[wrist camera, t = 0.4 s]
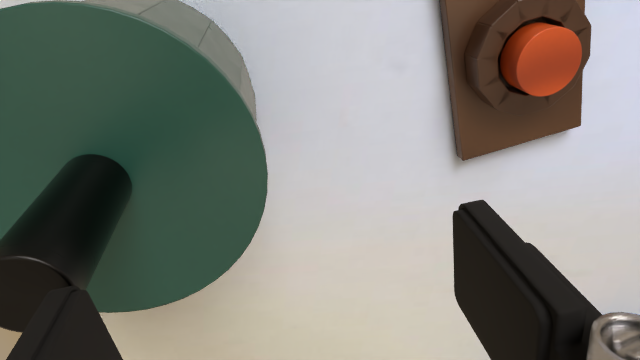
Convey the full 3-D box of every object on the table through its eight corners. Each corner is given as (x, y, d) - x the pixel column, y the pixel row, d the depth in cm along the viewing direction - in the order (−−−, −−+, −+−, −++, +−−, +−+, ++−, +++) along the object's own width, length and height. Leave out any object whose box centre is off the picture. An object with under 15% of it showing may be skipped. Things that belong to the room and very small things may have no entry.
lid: (-171, 59, 14) (-511, 145, 8) (200, -49, 14) (163, -50, 8) (38, 325, 20) (-59, 500, 14) (301, 247, 20) (326, 384, 14)
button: (498, 32, 24) (515, 38, 22) (561, 13, 24) (583, 18, 22) (501, 95, 26) (517, 104, 24) (561, 78, 26) (581, 86, 24)
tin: (-9, 27, 22) (-164, 72, 14) (212, -37, 22) (191, -31, 14) (100, 213, 28) (36, 327, 19) (277, 161, 28) (291, 251, 19)
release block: (434, -41, 24) (453, -41, 22) (577, -83, 24) (610, -87, 22) (456, 155, 29) (473, 172, 27) (572, 121, 29) (598, 135, 27)
